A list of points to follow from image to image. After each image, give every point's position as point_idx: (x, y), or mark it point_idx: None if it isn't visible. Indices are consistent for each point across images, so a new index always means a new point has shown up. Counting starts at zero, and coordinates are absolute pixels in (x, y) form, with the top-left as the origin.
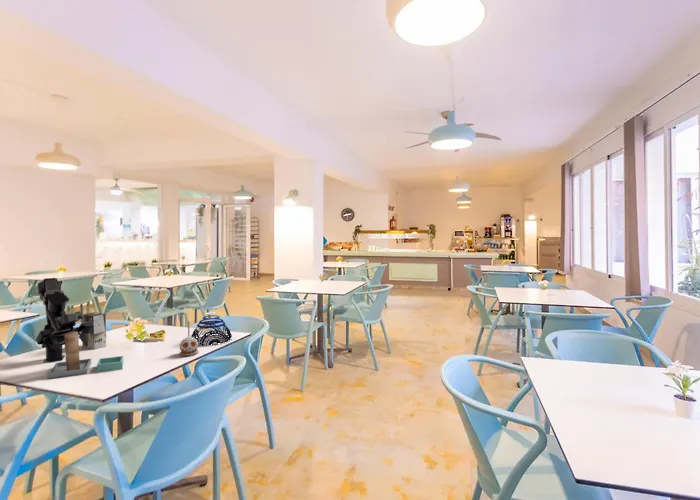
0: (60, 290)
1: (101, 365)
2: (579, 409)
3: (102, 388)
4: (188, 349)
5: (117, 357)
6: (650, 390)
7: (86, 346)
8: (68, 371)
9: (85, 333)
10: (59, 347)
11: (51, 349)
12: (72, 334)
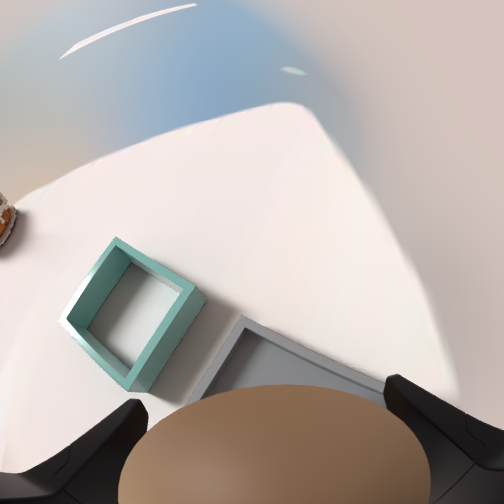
0: None
1: (179, 277)
2: (133, 22)
3: (280, 136)
4: (6, 199)
5: (76, 330)
6: (105, 30)
7: (145, 410)
8: (321, 356)
9: (45, 484)
10: (424, 395)
11: None
12: (310, 386)
